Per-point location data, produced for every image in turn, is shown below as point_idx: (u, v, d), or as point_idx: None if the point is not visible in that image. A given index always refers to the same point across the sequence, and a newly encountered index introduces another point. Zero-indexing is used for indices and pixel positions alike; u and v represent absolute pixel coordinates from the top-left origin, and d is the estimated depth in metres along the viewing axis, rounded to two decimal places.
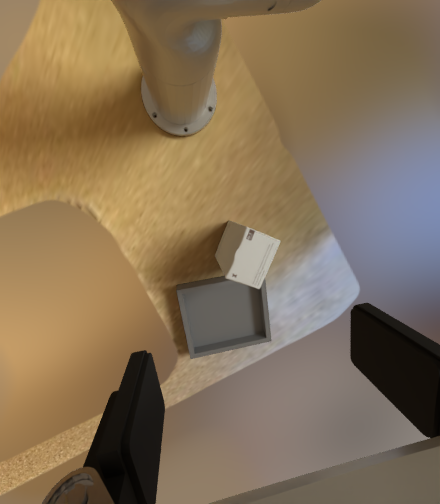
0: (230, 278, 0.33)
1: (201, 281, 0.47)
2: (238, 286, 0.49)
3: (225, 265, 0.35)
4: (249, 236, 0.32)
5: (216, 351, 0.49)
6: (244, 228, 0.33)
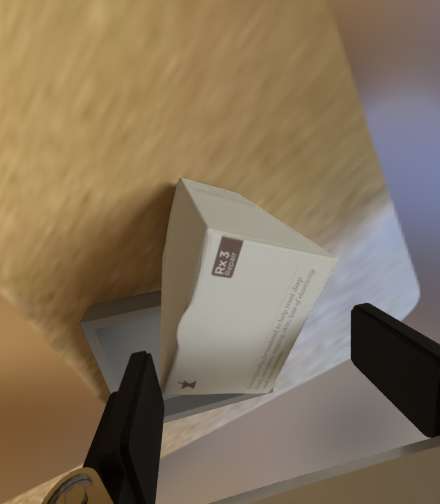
0: (177, 393, 0.10)
1: (139, 298, 0.24)
2: None
3: (164, 330, 0.12)
4: (223, 264, 0.08)
5: (175, 417, 0.27)
6: (200, 231, 0.08)
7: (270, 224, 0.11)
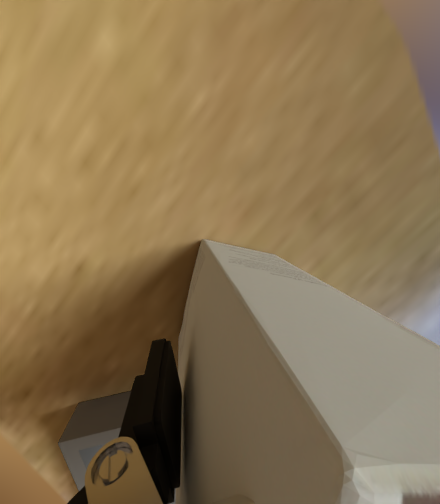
0: None
1: None
2: None
3: None
4: None
5: None
6: (302, 435, 0.03)
7: (392, 337, 0.06)
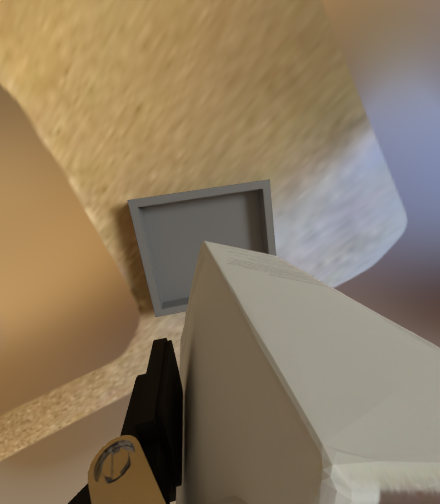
0: None
1: None
2: (229, 205, 0.32)
3: None
4: None
5: None
6: (287, 433, 0.03)
7: (387, 337, 0.06)
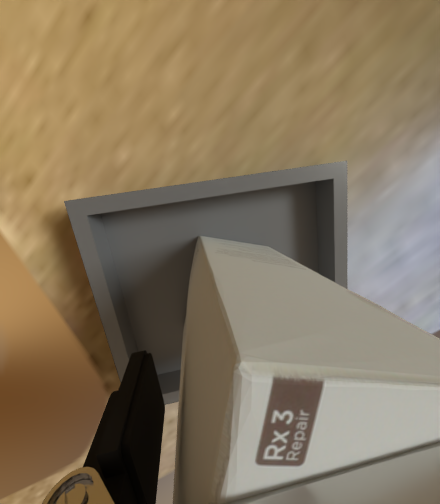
0: None
1: None
2: (263, 210, 0.17)
3: (177, 499, 0.07)
4: (281, 439, 0.03)
5: None
6: (224, 355, 0.04)
7: (341, 303, 0.07)
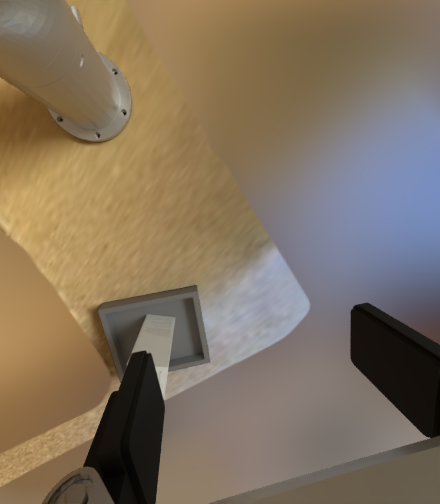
0: None
1: (129, 299, 0.43)
2: (172, 304, 0.45)
3: None
4: None
5: None
6: (127, 362, 0.31)
7: (158, 351, 0.34)
